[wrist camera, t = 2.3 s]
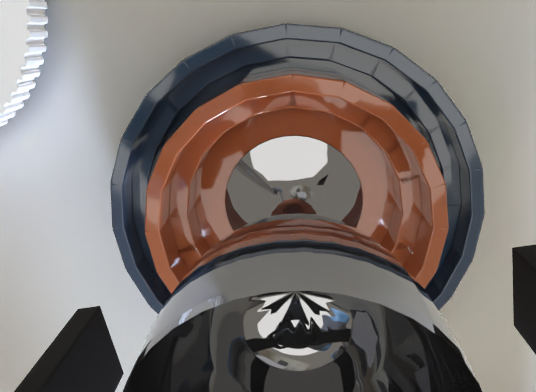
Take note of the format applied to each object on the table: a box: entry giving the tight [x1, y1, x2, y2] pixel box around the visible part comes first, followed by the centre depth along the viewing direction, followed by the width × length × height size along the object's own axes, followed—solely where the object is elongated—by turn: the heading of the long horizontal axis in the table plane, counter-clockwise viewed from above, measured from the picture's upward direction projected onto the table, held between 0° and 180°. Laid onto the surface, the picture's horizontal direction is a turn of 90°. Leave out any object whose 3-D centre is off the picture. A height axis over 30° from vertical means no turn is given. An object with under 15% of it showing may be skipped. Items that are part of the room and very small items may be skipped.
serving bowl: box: [110, 24, 484, 314], centre depth 23 cm, size 17×17×3 cm
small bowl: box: [145, 67, 449, 294], centre depth 23 cm, size 13×13×4 cm
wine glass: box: [123, 135, 482, 392], centre depth 17 cm, size 8×8×15 cm
